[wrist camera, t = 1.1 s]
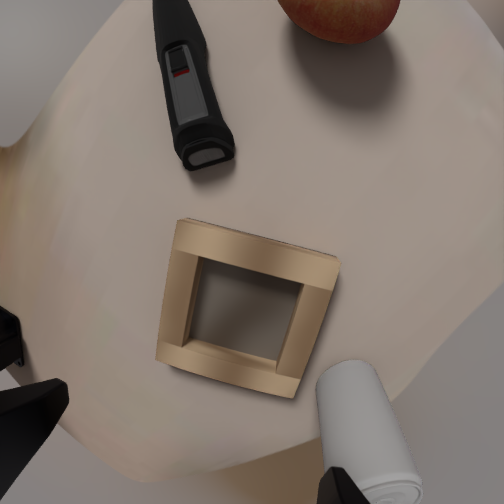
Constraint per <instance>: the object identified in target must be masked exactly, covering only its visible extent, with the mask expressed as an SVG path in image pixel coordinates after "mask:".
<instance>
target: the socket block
mask: <svg viewBox="0 0 504 504" xmlns="http://www.w3.org/2000/svg"><path fill="white" fill-rule="evenodd" d="M340 266H341V262H340V261H339V260H338V258H337V257H336V256H332V255H329V254H325V253H321V252H318V251H314V250H310V249H306V248H303V247H299V246H295V245H291V244H288V243H284V242H280V241H276V240H272V239H268V238H265V237H261V236H257V235H253V234H249V233H245V232H241V231H237V230H234V229H230V228H226V227H222V226H218V225H214V224H210V223H206V222H202V221H198V220H194V219H190V218H185V219H181V220H177V224H176V229H175V234H174V240H173V245H172V250H171V256H170V261H169V267H168V273H167V279H166V285H165V291H164V298H163V304H162V311H161V318H160V326H159V333H158V341H157V349H156V358H155V360H157V361H160V362H163V363H166V364H168V365H171V366H174V367H177V368H180V369H183V370H186V371H189V372H192V373H196V374H199V375H202V376H205V377H209V378H212V379H216V380H219V381H222V382H226V383H230V384H233V385H237V386H241V387H245V388H249V389H253V390H257V391H261V392H265V393H269V394H274V395H278V396H283V397H287V398H292V399H293V397H294V395H295V392H296V390H297V387H298V385H299V382H300V380H301V377H302V375H303V372H304V370H305V367H306V365H307V362H308V359H309V357H310V354H311V351H312V349H313V346H314V343H315V341H316V338H317V335H318V332H319V330H320V327H321V324H322V321H323V318H324V315H325V312H326V310H327V307H328V304H329V301H330V298H331V295H332V291H333V288H334V285H335V282H336V279H337V276H338V273H339V269H340Z"/></svg>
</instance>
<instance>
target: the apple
mask: <svg viewBox="0 0 504 504" xmlns="http://www.w3.org/2000/svg"><path fill="white" fill-rule="evenodd" d="M278 2H279V4H280V5H281V7H282V8H283V10H284V11H285V13H286V14H287V15H288V17H289V18H290V19H291V20H292V21H293V22H294V23H296V24H297V25H298V26H300V27H301V28H302V29H304V30H305V31H307V32H309V33H310V34H312V35H314V36H316V37H318V38H320V39H324V40H327V41H332V42H337V43H345V44H356V43H362V42H365V41H368V40H370V39H372V38H374V37H376V36H378V35H379V34H381V33H382V32H383V31H384V30H385V29H386V28H387V27H388V26H389V25H390V24H391V22H392V20H393V19H394V17H395V15H396V13H397V10H398V7H399V4H400V0H278Z"/></svg>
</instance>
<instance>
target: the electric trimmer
mask: <svg viewBox="0 0 504 504" xmlns="http://www.w3.org/2000/svg"><path fill="white" fill-rule="evenodd" d="M153 20H154V31H155V42H156V51H157V58H158V62H159V64H160V68H161V72H162V78H163V85H164V91H165V98H166V104H167V110H168V115H169V120H170V126H171V131H172V136H173V143H174V148H175V151H176V153H177V155H178V156H179V158H180V159H181V160H182V163H183V166H184V167H185V169H186V170H188V171H195V170H198V169H201V168H205V167H208V166H211V165H214V164H218V163H221V162H224V161H228V160H231V159H232V158H233V157H234V153H233V148H234V146H235V143H234V138H233V135H232V133H231V131H230V129H229V128H228V126H227V125H226V123H225V122H224V120H223V118H222V115H221V112H220V109H219V106H218V103H217V100H216V97H215V93H214V90H213V87H212V84H211V81H210V77H209V74H208V70H207V65H206V61H205V56H204V53H205V48H206V41H205V38H204V35H203V33H202V31H201V28H200V26H199V24H198V22H197V19H196V17H195V15H194V13H193V10H192V8H191V6H190V4H189V2H188V0H153ZM189 58H190V59H189Z"/></svg>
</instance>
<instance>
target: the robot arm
mask: <svg viewBox="0 0 504 504" xmlns="http://www.w3.org/2000/svg"><path fill="white" fill-rule="evenodd" d="M13 362H14V363H15V364H16V365H18V366H19V367H23V366H24V360H23V354H22V347H21V340H20V331H19V322H18V318H17V317H16V316H15V315H14V314H12V313H10V312H9V311H7V310H6V309H4V308H3V307H1V306H0V371H2V370H3V369H5V368H6V367H7V366H9V365H10V364H12V363H13ZM68 404H69V394H68V386H67V384H66V383H65V382H64V381H62V380H60V379H58V378H54V379H50V380H46V381H42V382H38V383H34V384H30V385H26V386H21V387H17V388H13V389H8V390H3V391H0V500H1V499H2V497H3V496H4V495H5V493H6V492H7V491H8V489H9V488H10V486H11V485H12V484H13V482H14V481H15V480H16V478H17V477H18V476H19V474H20V473H21V472H22V470H23V469H24V468H25V466H26V465H27V464H28V462H29V461H30V460H31V458H32V457H33V456H34V455H35V453H36V452H37V451H38V449H39V448H40V447H41V446H42V444H43V443H44V442H45V440H46V439H47V438H48V437H49V435H50V434H51V432H52V431H53V429H54V427H55V426H56V424H57V422H58V421H59V419H60V417H61V416H62V414H63V413H64V411H65V409H66V408H67V406H68ZM317 504H371V503H370V502H369V501H368V500H367V498H366V497H365V496H364V494H363V493H362V492H361V490H360V489H359V488H358V487H357V485H356V484H355V483H354V481H353V480H352V479H351V477H350V476H349V475H348V473H347V472H346V471H345V469H344V468H343V467H337V466H331V467H329V469H328V470H327V471H326V473H325V474H324V476H323V477H322V478H321V480H320V483H319V489H318V498H317Z"/></svg>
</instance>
